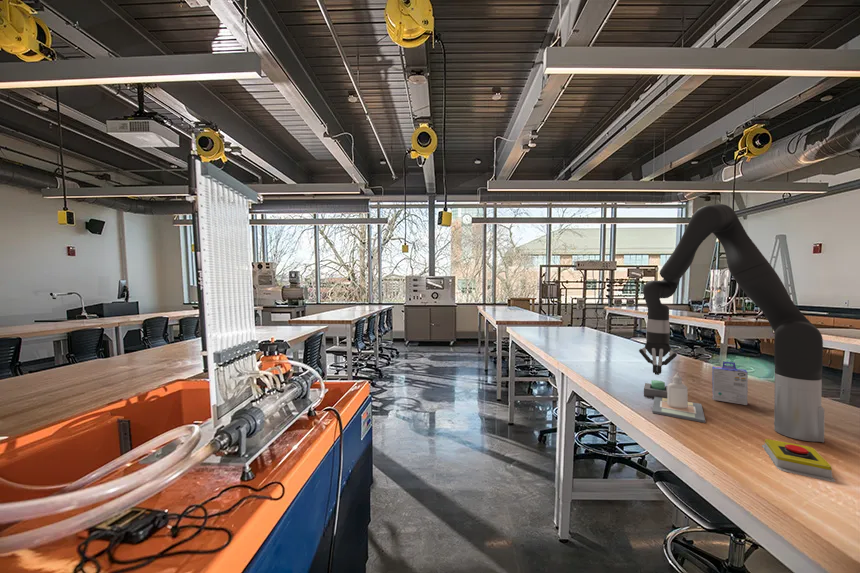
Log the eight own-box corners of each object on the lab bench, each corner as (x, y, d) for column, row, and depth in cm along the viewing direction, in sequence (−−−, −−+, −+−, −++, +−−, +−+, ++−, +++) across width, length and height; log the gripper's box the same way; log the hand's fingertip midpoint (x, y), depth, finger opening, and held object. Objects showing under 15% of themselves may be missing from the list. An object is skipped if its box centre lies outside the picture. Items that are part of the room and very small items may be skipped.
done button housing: (672, 394, 133) (672, 386, 133) (672, 400, 125) (672, 392, 125) (645, 390, 138) (645, 382, 138) (643, 396, 131) (643, 388, 131)
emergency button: (778, 454, 79) (760, 430, 91) (778, 472, 79) (760, 446, 91) (837, 465, 74) (810, 439, 86) (837, 485, 74) (810, 456, 86)
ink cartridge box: (746, 401, 124) (746, 363, 124) (748, 406, 120) (748, 366, 120) (711, 396, 130) (711, 359, 130) (712, 400, 126) (712, 362, 126)
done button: (664, 389, 132) (664, 381, 132) (664, 391, 129) (664, 384, 129) (651, 387, 135) (651, 379, 135) (651, 389, 131) (651, 382, 131)
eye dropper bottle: (686, 410, 113) (686, 375, 113) (666, 406, 117) (666, 372, 117) (688, 407, 116) (688, 373, 116) (668, 403, 120) (668, 370, 120)
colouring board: (701, 406, 120) (701, 403, 120) (705, 422, 105) (705, 420, 105) (654, 398, 128) (654, 395, 128) (652, 412, 114) (652, 410, 114)
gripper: (637, 330, 132) (636, 373, 132) (679, 333, 124) (678, 379, 125) (638, 328, 138) (638, 369, 139) (678, 331, 131) (677, 375, 131)
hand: (657, 374), depth 132 cm, fingers closed
